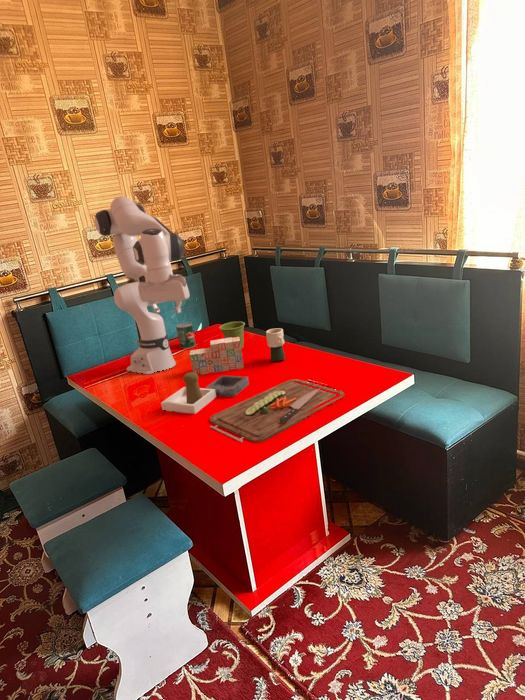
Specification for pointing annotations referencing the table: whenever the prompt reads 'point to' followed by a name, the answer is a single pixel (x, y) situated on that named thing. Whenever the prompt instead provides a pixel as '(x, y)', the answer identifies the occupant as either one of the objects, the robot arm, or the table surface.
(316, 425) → the table surface
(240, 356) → the stack of blocks
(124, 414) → the table surface
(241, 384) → the grey square shallow box
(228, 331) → the plant pot
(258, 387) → the table surface
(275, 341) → the character mug
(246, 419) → the chopping board
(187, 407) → the tray
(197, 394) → the cork
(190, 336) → the canned tomato
